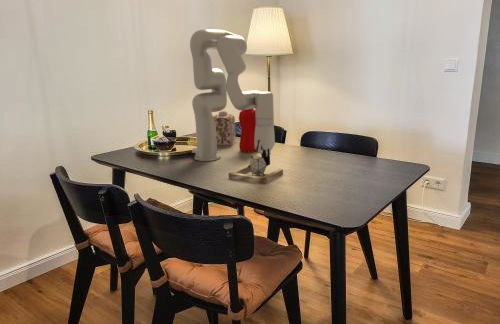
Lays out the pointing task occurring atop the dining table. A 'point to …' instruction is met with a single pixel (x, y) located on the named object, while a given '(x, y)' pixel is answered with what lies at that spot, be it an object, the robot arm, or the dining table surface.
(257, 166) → the game die
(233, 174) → the u-shaped tan bracket
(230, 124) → the decorative jar
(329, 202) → the dining table surface
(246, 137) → the water bottle
